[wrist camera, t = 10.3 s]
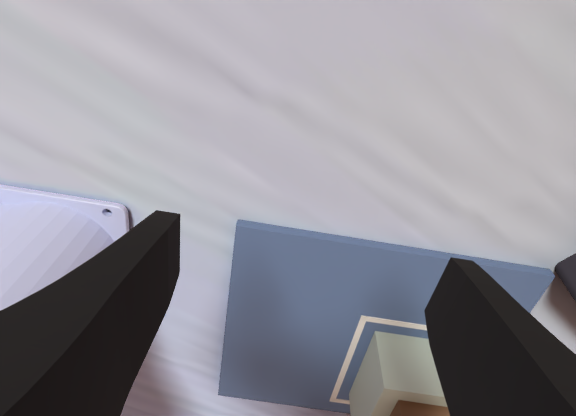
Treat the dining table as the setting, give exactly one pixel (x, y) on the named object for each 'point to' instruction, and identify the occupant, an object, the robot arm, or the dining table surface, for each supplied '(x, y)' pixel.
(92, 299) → the robot arm
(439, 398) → the sage base block
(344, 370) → the board
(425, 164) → the dining table surface
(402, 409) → the walnut block
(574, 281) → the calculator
